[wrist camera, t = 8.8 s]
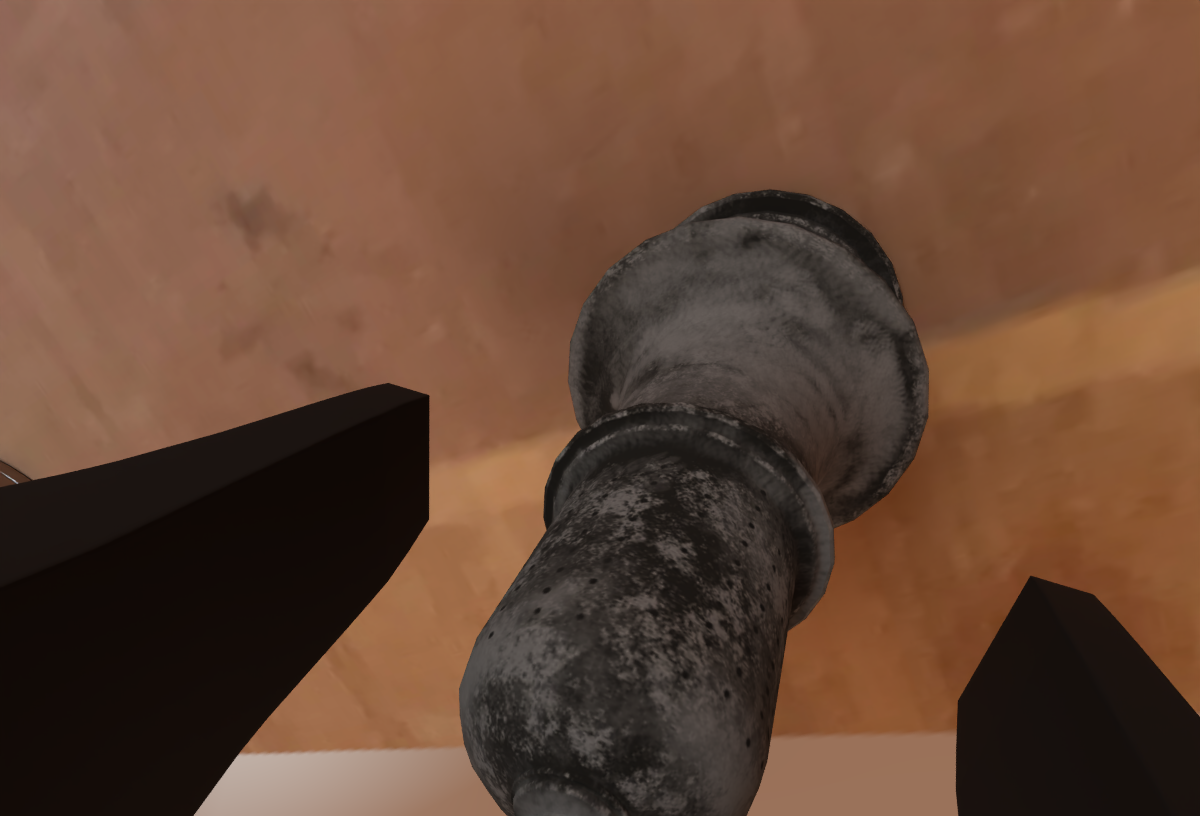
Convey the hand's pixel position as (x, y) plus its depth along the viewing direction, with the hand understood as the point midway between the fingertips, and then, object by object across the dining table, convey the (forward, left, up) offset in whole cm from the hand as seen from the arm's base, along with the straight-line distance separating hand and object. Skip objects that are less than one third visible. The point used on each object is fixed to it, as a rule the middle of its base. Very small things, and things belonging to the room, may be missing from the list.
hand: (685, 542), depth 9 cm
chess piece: (0, 0, -8) cm, 8 cm away
